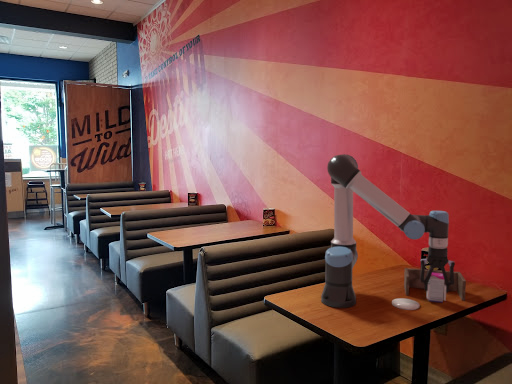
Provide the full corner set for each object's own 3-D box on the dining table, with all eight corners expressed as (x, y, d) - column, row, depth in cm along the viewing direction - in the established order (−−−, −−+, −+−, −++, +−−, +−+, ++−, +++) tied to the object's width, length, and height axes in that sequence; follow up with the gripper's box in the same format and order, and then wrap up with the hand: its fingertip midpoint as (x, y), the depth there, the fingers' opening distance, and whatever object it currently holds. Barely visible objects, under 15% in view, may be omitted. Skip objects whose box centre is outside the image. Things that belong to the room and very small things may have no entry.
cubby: (405, 295, 179) (406, 276, 178) (404, 285, 191) (404, 268, 190) (465, 300, 171) (465, 280, 170) (459, 290, 184) (460, 272, 183)
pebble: (392, 308, 164) (392, 306, 164) (391, 298, 175) (391, 297, 174) (420, 311, 161) (420, 309, 161) (418, 301, 171) (418, 299, 171)
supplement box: (443, 303, 169) (444, 279, 166) (428, 301, 171) (429, 278, 168) (442, 295, 174) (443, 273, 171) (427, 294, 176) (428, 271, 173)
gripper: (415, 247, 167) (413, 299, 169) (464, 250, 161) (461, 304, 164) (413, 243, 174) (412, 293, 176) (460, 246, 169) (458, 297, 171)
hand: (436, 298), depth 170 cm, fingers closed on supplement box, 6 cm apart
